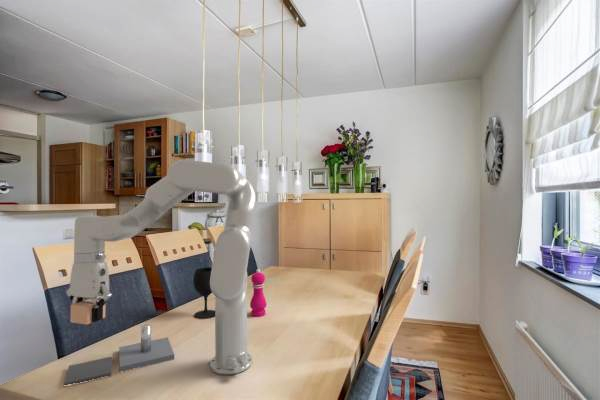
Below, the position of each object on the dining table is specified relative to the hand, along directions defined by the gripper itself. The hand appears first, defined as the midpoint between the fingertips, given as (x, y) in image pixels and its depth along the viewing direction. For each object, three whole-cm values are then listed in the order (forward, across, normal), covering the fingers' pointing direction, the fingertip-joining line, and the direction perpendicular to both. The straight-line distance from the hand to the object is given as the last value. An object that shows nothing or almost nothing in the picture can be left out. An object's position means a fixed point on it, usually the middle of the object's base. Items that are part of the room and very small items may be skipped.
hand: (88, 318), depth 92 cm
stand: (+15, -9, -13) cm, 22 cm away
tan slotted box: (0, 0, 0) cm, 0 cm away
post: (+14, -9, -13) cm, 21 cm away
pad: (+16, -1, 0) cm, 16 cm away
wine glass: (+15, -8, -51) cm, 54 cm away
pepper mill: (+15, -30, -57) cm, 66 cm away
